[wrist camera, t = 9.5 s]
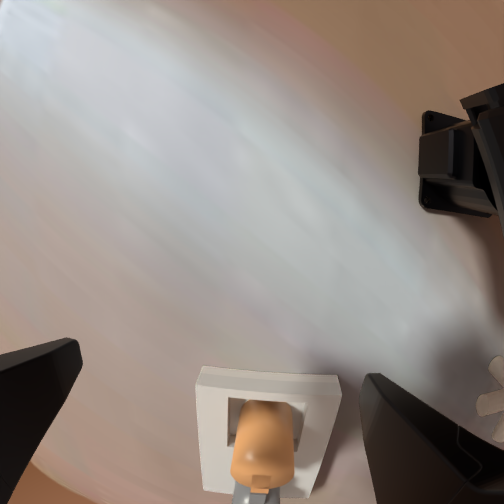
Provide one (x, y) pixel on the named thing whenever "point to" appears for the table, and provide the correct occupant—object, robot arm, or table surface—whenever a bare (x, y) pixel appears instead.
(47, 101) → the table surface
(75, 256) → the table surface
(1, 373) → the robot arm
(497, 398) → the pipe connector
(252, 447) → the orange rounded tapered piece
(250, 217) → the table surface
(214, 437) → the housing
